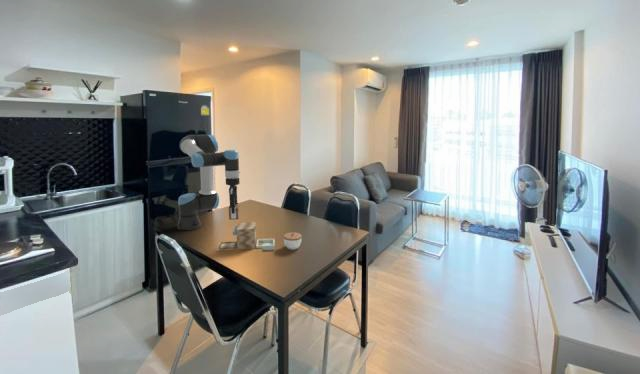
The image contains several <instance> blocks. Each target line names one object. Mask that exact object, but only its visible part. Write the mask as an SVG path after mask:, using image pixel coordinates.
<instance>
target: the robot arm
mask: <svg viewBox="0 0 640 374" xmlns="http://www.w3.org/2000/svg"><path fill="white" fill-rule="evenodd" d="M179 149H180V150H181V151H182V152H183V153H184V154H186V155H188V157H190V159H191V165H192V167H194V168H200V170H199V171H200V190H199V191H198V194H197V193H195V192H192V193H189V192H188V193H184V194H182V195H180V196H179V197H178V200H177V201H178V202H177V204H178V215H179V217H178V222H177V230H180V231H193V230H196V229H199V228H200V227H201V226H202V223H201V220H200V218H199V215H198V212H202V211H209V210H210V211H212V210H215V209H217V208H218V207H219V205H220V195H219V193H218V192H217V190H216V189H215V186H214V185H215V182H214V179H215V178H214V167H218V166H221V167H222V166H224V173H225V175H224V176H225V185H226V186H229V188H228V193H229V195H228V196H229V206H230V207H228V209H229V208H231V219H233V220H237V219H236V207H235V205H239V202H238V185H240V173H241V171H240V165H239V152H238V150H237V149H226V150H224V151H221V152H218V151H219V143H218V140H217V138H216V136H215V135H213V134H188V135H186V136H184V137H183V138H182V139H181V140H180V142H179Z"/></svg>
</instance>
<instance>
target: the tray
mask: <svg viewBox="0 0 640 374" xmlns="http://www.w3.org/2000/svg"><path fill="white" fill-rule="evenodd" d="M275 242H276V241H275V238H258V239H257V238H256V245H255V249H261V251H275V246H276V245H275ZM259 243H262V245H259Z"/></svg>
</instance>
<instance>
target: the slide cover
mask: <svg viewBox="0 0 640 374" xmlns="http://www.w3.org/2000/svg"><path fill="white" fill-rule="evenodd" d="M237 226H238V225H234V227H233V229H232V236H237V231H236V229H237Z"/></svg>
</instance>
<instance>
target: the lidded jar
mask: <svg viewBox="0 0 640 374" xmlns="http://www.w3.org/2000/svg"><path fill="white" fill-rule="evenodd" d="M283 243H284V246H285V248H287V249H288V250H290V251H291V250H292V251H293V250H294V251H295V250H297V249H298V248H299V247H300V245H301V243H302V234H301V233H299V232H287V233H285V234H284V235H283Z"/></svg>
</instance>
